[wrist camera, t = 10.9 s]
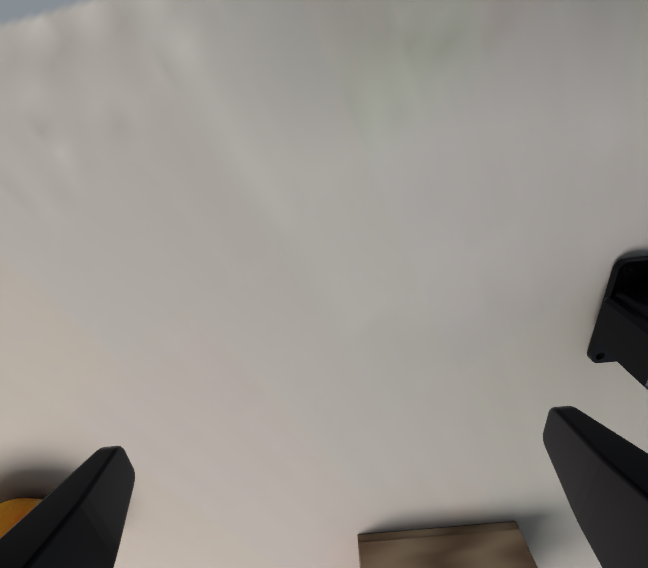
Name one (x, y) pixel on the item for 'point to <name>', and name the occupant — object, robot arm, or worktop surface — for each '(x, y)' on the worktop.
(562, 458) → the robot arm
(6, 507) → the fruit
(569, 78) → the worktop surface
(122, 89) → the worktop surface
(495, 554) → the tray
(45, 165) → the worktop surface
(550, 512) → the worktop surface
